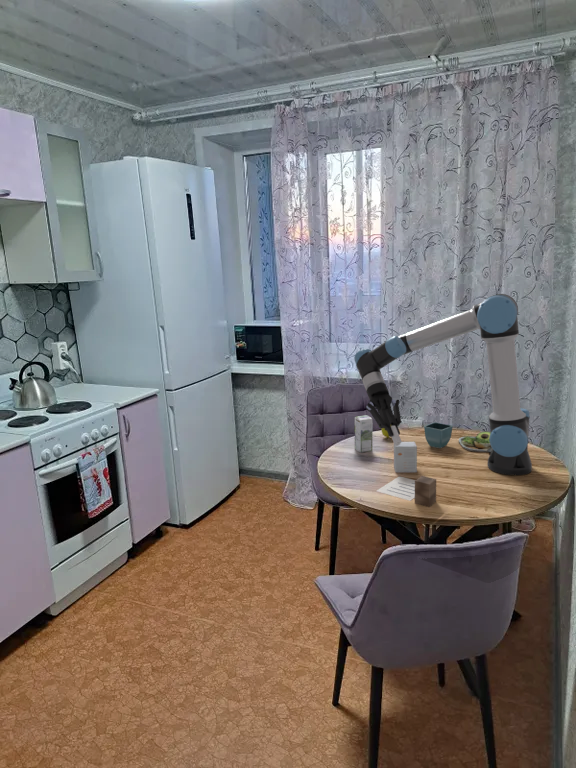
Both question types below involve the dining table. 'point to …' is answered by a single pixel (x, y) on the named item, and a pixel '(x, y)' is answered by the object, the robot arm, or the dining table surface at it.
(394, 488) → the letter
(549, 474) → the dining table surface
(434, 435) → the flower pot
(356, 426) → the syrup box
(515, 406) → the robot arm
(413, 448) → the small box
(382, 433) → the lemon
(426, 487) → the walnut block
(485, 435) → the avocado toast plate
